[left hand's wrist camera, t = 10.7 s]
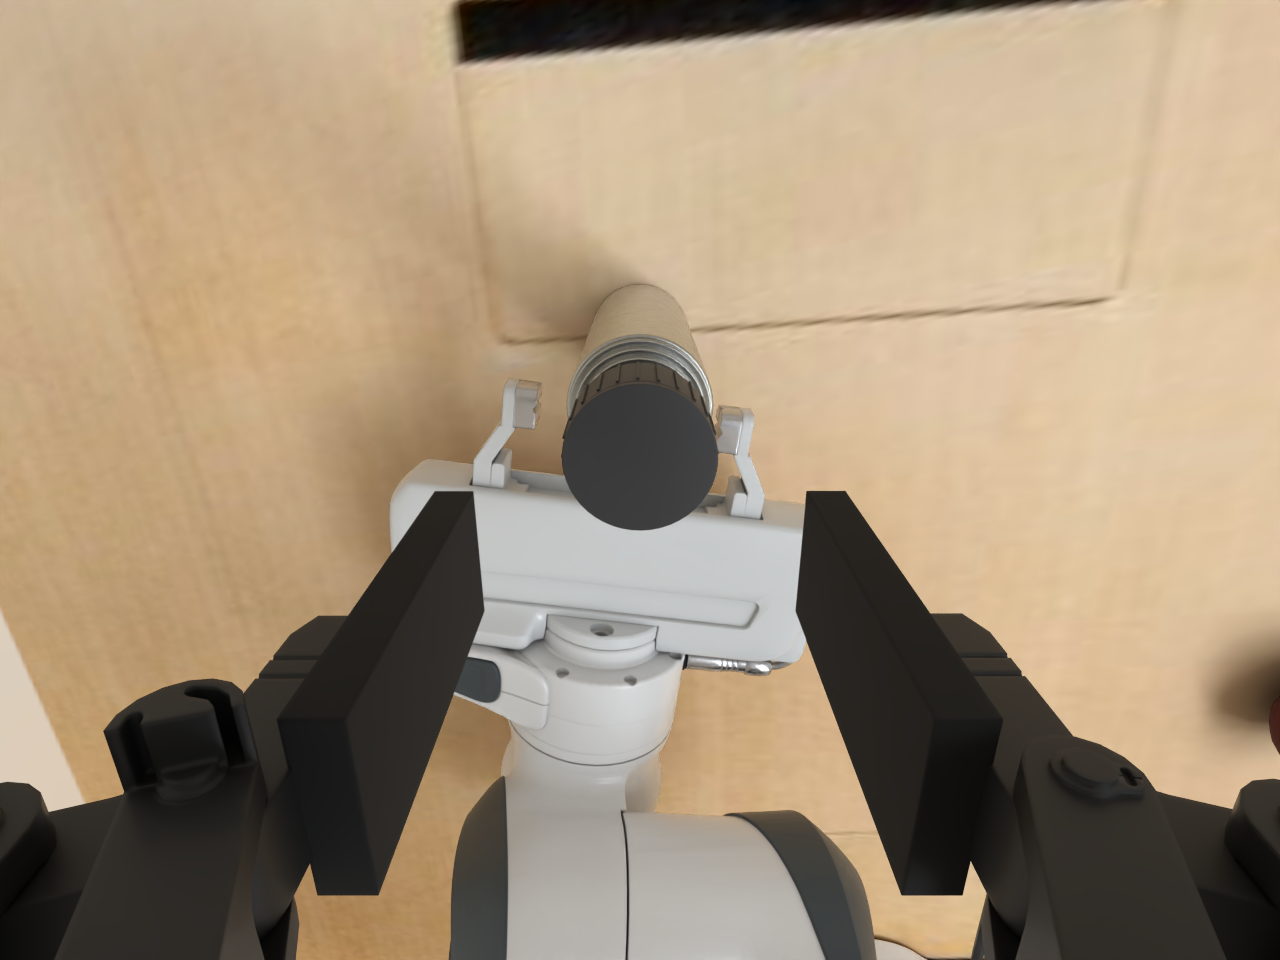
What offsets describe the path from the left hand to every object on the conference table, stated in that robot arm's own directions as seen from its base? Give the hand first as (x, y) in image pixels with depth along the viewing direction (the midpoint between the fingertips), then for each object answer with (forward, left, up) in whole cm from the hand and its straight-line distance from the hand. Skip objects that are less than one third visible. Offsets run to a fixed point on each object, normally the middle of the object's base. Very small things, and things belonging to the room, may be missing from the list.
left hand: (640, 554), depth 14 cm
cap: (0, 0, -8) cm, 8 cm away
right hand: (+2, 0, -18) cm, 18 cm away
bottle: (0, 0, -25) cm, 25 cm away
